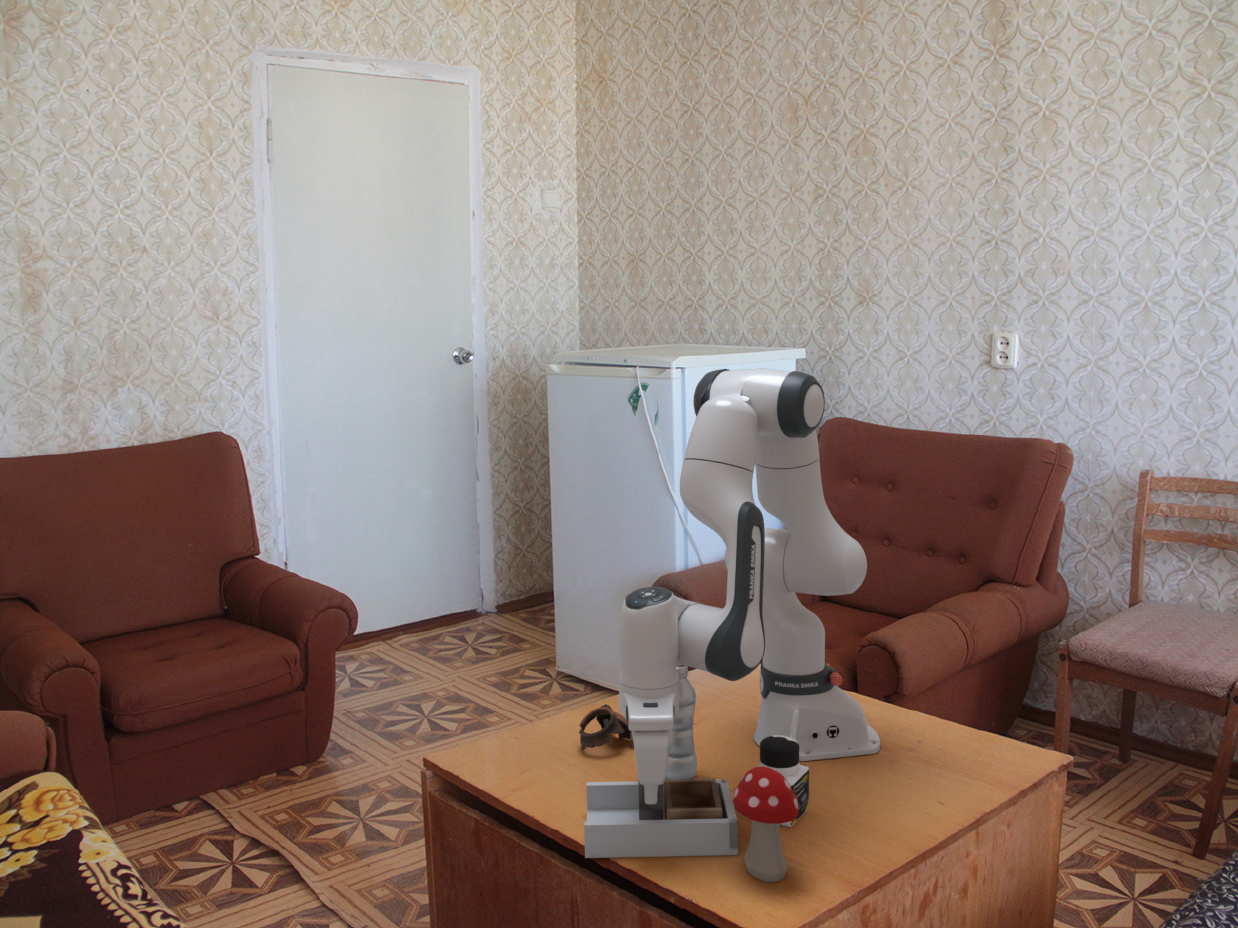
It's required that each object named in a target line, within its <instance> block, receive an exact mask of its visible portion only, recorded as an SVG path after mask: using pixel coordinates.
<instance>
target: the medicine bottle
mask: <svg viewBox="0 0 1238 928" xmlns="http://www.w3.org/2000/svg"><path fill="white" fill-rule="evenodd" d="M757 767H769V768H772V769H774V770H776V771H778V772H779V773H780V774H782V775H783V776H784V778H785V779H786V780H787V782H788V783H789V785H790V787H791V789H792V791H793V792H794V793H795V795H796V797H797V799H798V803H799V812H798V815H797V817H796V818H795V819H793V820H792V821H790V822H786V823H781V824H779V826H780V825H781V826H784V827H788V828H792V827H794V825H795V824H796V823H797V822H798V821H799V820H800V819H801V818H802V817H803V816H804V814H805V813H807V811H808V810H809V808H810V767H809V766H807V765H802V764H800V761H799V743H798V742H797V741H796V740H795V739H793V738H790V737H787V736H782V735H774V736H769V737H766V738H764V739H763V740H762V741H761V742H760V746H759V766H757Z"/></svg>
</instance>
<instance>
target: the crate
mask: <svg viewBox="0 0 1238 928" xmlns="http://www.w3.org/2000/svg"><path fill="white" fill-rule="evenodd" d="M716 780H717V779H716V778H693V779H677V780H666V779H665V781H664V813H665V820H679V819H722V806H721V802H720V798H719V793H718V789H717V784H716ZM637 781H638V793H639V820H663V784H661V785H658V790H657V803H656V804H646V803H645V794H644V785H642V784H640V782H639V779H638V778H637Z"/></svg>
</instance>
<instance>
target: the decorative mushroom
mask: <svg viewBox="0 0 1238 928" xmlns="http://www.w3.org/2000/svg"><path fill="white" fill-rule="evenodd" d="M732 802H733V806H734V810H736V811H735V812H738V813H739V815H741V816H742V817H744V818H746V819H749V820H751V821H752V823H751V831H750V837H749V842H748V847H747V849H746V851H745V854H744V857H743V862H744V865H745V868H746V871H747V872H748V874H750V876H752V877H754V878H755V879H757V880H760V881H762V882H765V883H767V882H768V883H776V882H780V881H782V880H783V879H784V877H785V876H786V873H787V870H788V862H787V861H786V857H785V855H784V850H783V846H782V840H781V833H780V832H781V831H780V824H781V823H786V822H790V821H792V820H793V819H795V818H796V817H797V815H798V812H799V803H798V799H797V797H796V795H795V793H794V792H793V791H792V789H791V787H790V785H789V783H788V782H787V780H786V779H785V778H784V776H783V775H782V774H780V773H779V772H778V771H776V770H774V769H772V768H769V767H758V766H756V767H753V768H751V769H749V770H748V771H746V772H745V773H744V774H743V776H742V777H741V780H740V781H739V783H738V784H737V785H736V787H735V790H734V793H733V797H732Z"/></svg>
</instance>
